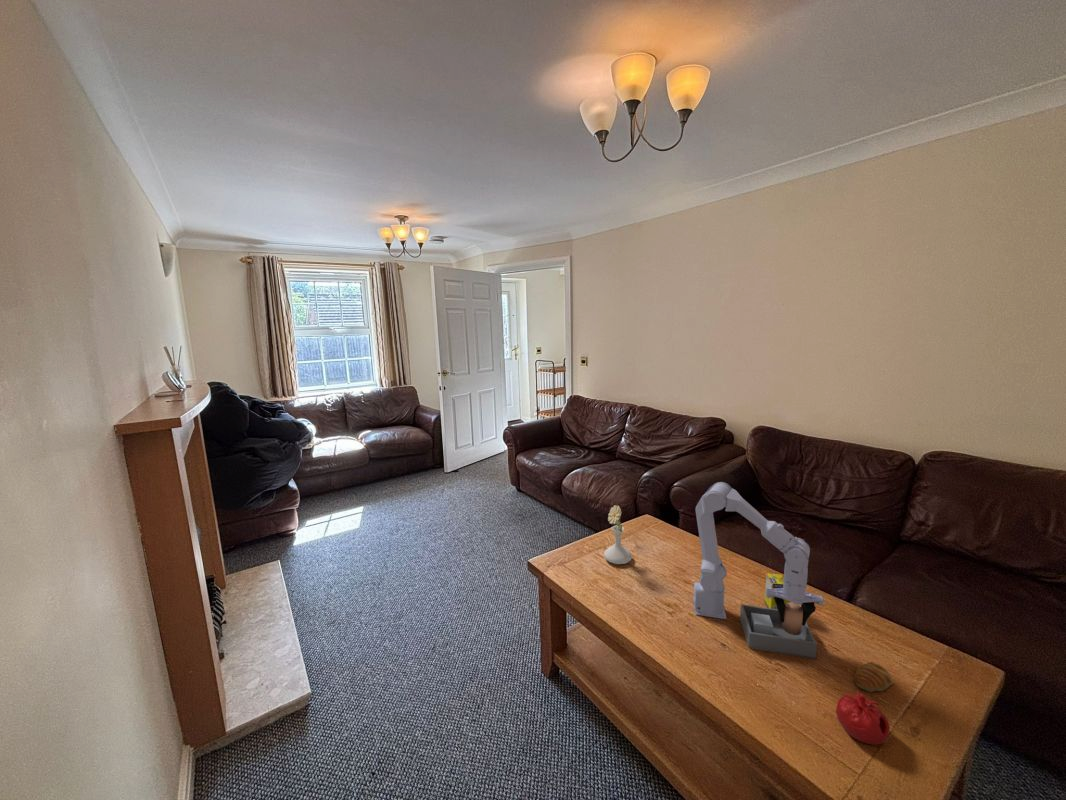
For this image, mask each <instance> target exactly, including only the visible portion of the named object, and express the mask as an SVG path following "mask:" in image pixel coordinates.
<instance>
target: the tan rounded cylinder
mask: <svg viewBox="0 0 1066 800" xmlns="http://www.w3.org/2000/svg"><path fill="white" fill-rule="evenodd" d="M785 605H786V607H785V611H784V622H782V628H783V630H784V631H786V632H787V633H789V634H792V635H800V634H801V630H802V621H803V609H802V608H801V605H798V604H794V603H793V602H791V603H785Z"/></svg>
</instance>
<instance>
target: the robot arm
mask: <svg viewBox="0 0 1066 800" xmlns="http://www.w3.org/2000/svg"><path fill="white" fill-rule="evenodd" d="M724 508H725V510H724V511H725V512H736V513H738V514H740V516H742V517H744V518H745V519H746V520H748V521H749V522H750V523H751V524H753V525H754V526H756V528H758V529H760V533H761V536H762V537H763V538H765V539H766V540H767V541H768V542H769V543H770V544H772V546H774V547H775V548H776V549H778V550H779V551H780V552H781V553H783V557H784V560H785V563H784V572H783V575H784V581H783V588H776V589H766V593H765V592H764V595H765V594H766V597H767V598H771V597H772V598H774V600H775V602H776V605H777V609H778V613H779V619H780V621H781V622H784V611H785V607H786V605H785V603H784V600H783V599H785V600H788V601H791V603H794V604H796V605H798V606H800V607H801V608H802V609H803V621H802V625H804V626H805V624H806V623H807V621H808V619H809V618H810V617H811V615H812V614H813V613H815V612H816V611H817V610H816V606H815V604H817V605H818V606H824V598H823V597H822V595H819V594H814V593H810V592H808V591H807V585H808V584H807V583H808V571H809V569H808V566H809V560H810V559H809V558H810V553H811V548H810V545H809V544H808V542H806V540H804V539H802V538H800V537H797V536H794V535H793V534H792V533H790V532H789V531H787V530H786V529H785V526H784V525H783V524H782V523H778V522H777V521H775V520H768V519H767V518H766V517H764V516H763V515H762V514H761V513H760V512H759V511H758V510H757V509H756V508H755V507H753V506H752V505H751V504H750V503H749V502H748V501H747V500H745V498H743V497H742V496H741V495H740V493H739V492H738V491H737V490H736V489H734V488H732V487H731V486H730V484H729V483H726V482H724V481H720V482H719V481H718V482H715V483H714V484H712V485H711V486H710V487H709V488H708V489H707V491H705V493H704V494H703V495H702V496H701V498H700V499H699V501H698V502H697V504H696V506H695V515H696V516H695V517H696V522H697V523H696V524H697V529H698V530H697V531H698V536H699V543H700V549H701V552H700V553H701V557H702V561H701V565H700V576H699V582H694V583H693V598H692V602H693V603H692V604H693V607H694V614H695V615H696V616H702V617H709V618H715V619H722V620H726V619H727V615H726V610H725V605H724V604H725V589H726V588H725V584H724V579H725V578H726V577H727V572H728V571H727V569H726V567H725V565H724V563H723V559H722V558H721V557H720V553H719V548H718V547H719V545H718V541H717V533H716V526H715V525H716V524H715V518H714V513H715V512H717V511H718V512H719V511H722V510H723V509H724Z"/></svg>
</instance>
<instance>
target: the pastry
mask: <svg viewBox="0 0 1066 800" xmlns="http://www.w3.org/2000/svg"><path fill="white" fill-rule="evenodd" d="M854 674H855V676H854V683H855V685H856V686H857V687H859V688H860V689H862V690H864V691H866V692H868V693H873V692H883V691H885V690H886V689H888V688H889V687H890V686H892V685H893V684H894V680H893V679H892V676H891V674H890V673H889V671H888V669H886V668H885V667H884V666H882V665H881V664H880V663H876V662H873V661H871V662H870V661H868V662H867V663H866V662H865V663H864V664H861V665H859V667H858V668H856V670H855V673H854Z"/></svg>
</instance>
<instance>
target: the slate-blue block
mask: <svg viewBox="0 0 1066 800" xmlns="http://www.w3.org/2000/svg"><path fill="white" fill-rule="evenodd" d="M750 628H751V631H752V632H754V633H760V634H767V635H773V625H772V622H771V619H770V616H769V615H763V614H757V613H751V623H750Z"/></svg>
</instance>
